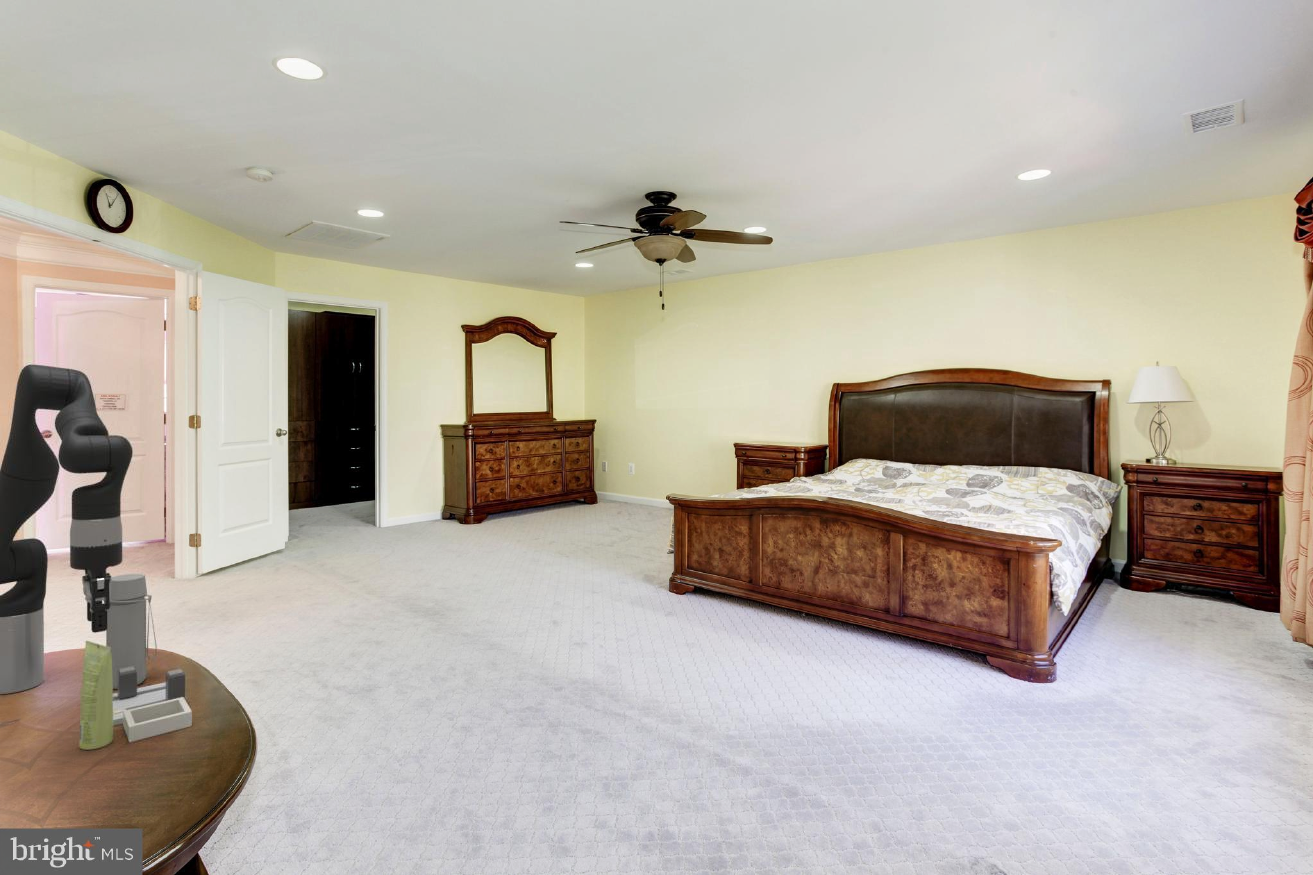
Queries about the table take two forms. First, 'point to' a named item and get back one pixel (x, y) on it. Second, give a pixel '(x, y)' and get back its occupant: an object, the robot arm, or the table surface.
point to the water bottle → (128, 625)
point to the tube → (96, 698)
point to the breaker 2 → (175, 684)
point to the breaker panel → (138, 700)
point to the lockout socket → (156, 719)
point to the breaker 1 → (126, 682)
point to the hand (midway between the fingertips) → (97, 625)
